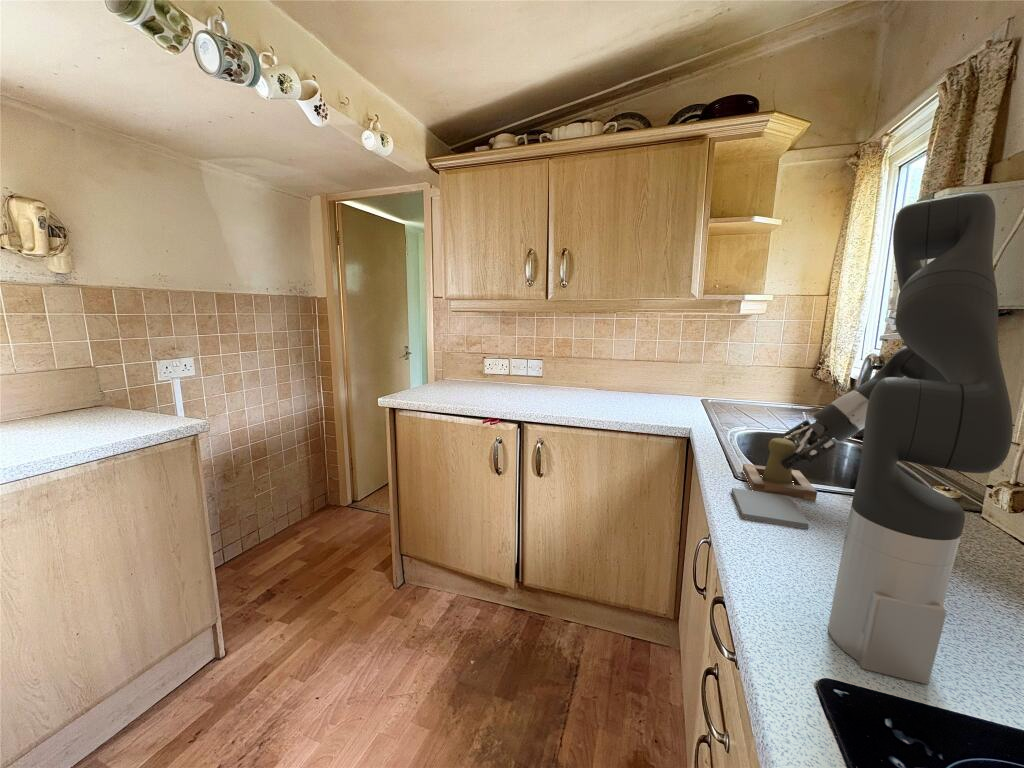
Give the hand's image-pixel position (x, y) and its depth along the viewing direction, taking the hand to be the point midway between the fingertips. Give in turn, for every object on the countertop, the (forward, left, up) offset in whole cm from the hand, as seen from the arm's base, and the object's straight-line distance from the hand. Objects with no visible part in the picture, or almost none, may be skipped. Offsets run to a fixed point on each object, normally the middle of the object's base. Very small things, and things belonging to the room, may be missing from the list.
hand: (777, 458), depth 95 cm
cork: (0, 0, -6) cm, 7 cm away
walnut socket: (0, 0, -6) cm, 6 cm away
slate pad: (-14, +5, -6) cm, 16 cm away
